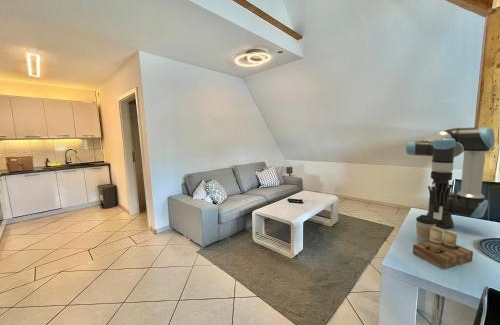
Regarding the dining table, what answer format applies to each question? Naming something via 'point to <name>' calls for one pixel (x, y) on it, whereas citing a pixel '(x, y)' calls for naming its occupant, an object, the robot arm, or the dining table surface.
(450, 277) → the dining table surface
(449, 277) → the dining table surface
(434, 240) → the peg
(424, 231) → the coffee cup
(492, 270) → the dining table surface
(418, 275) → the dining table surface
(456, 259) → the board
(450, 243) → the peg
